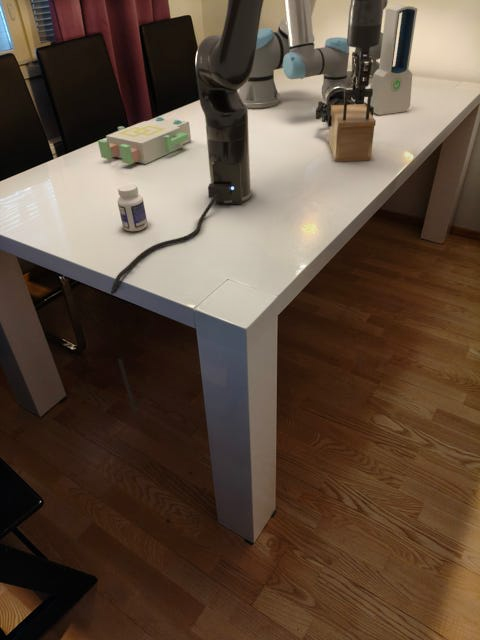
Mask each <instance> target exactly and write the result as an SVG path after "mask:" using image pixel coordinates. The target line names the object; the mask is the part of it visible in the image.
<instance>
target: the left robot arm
mask: <svg viewBox="0 0 480 640" xmlns="http://www.w3.org/2000/svg"><path fill="white" fill-rule="evenodd" d="M264 1H265V0H227V8H226V14H225V19H224V23H223V28H222V32H221V34H211V35H208V36H206V37H204V38H203V39H202V40H201V42H200V43H199V45H198V47H197V50H196V53H195V75H196V83H197V90H198V99H199V105H200V107H201V110H202V112H203V114H204V122H205V132H206V144H207V155H208V166H209V167H208V168H209V179H210V183H209V184H208V186H207V190H208V191H207V193H208V198H211V200H210V202H209V203H208V205H207V206H206V207H205V209H204V211H203V212H202V214H201V215H200V218H198V222H197V224H196V228H195V229H194V230H193V231H191V232H190V233H189V234H187V235H184V236H180V237H178V238H177V237H176V238H174V239H168V240H164V241H161V242H158V243H156V244H154V245H152V246H150V247H148V248H146V249H145V250H143V251H142V252H140V254H138V255H137V256H136V257H135V258H133V260H132V261H131V262H130V263H129V264H127V266H125V268H123V269H121V271H120V272H119V273H118V274H117V275H116V277H115V279H114V281H113V283H112V287H111V291H110V294H111V295H114V294H116V291H117V288H118V284H119V283H120V280H121V278H122V277H123V276H124V275H125V274H127V273H128V272H129V271H130V270H131V269H132V268H133V267H134V266H135V265H136V264H137V263H138V262H139V261H140V260H141V259H142V258H144V257H145V256H146V255H148V254H149V253H151V252H153V251H154V250H157V249H159V248H161V247H164V246H167V245H171V244H176V243H180V242H183V241H187V240H188V239H192V238H193V237H194V236H196V235H197V234H198V233H199V232H200V230H201V228H202V223H203V220H204V219H205V217H206V216H207V214H208V213H209V211H210V209H212V207H213V205H214V203H215V204H216V205H242V204H243V202H246V201H248V200H250V198H251V196H252V189H251V165H250V162H251V161H250V138H249V135H250V134H249V111H248V108H247V106H246V105H245V103H244V102H243V101H242V99H241V98H240V96H239V92H238V90H240V88H242V87H243V86H244V85H245V84H246V82H247V81H248V79H249V77H250V75H251V72H252V69H253V65H254V59H255V53H256V45H257V38H258V30H259V29H260V22H261V16H262V12H263V11H262V10H263V7H264ZM383 15H384V10H383V0H350V5H349V11H348V22H347V23H348V24H347V36H346V38H347V45H348V46H349V48H355V50H354V51H352V53H351V71H352V75H351V78H353V79H352V83H353V85H352V89H356V91H355V98H352V100H353V101H354V102H355V104H363V103H364V102H365V98H366V97H365V89H367V87H369V85H370V77H371V75H370V72H371V66H372V62H373V60H371V58H372V56H371V55H370V47H375V46H377V45H379V43H380V34H381V32H382V24H383ZM117 361H118V365H119V369H120V372H121V375H122V379H123V382H124V386H125V389H126V392H127V396H128V399H129V403H130V407H131V410H132V415H133V416H136V415H138V413H137V409H136V405H135V401H134V397H133V393H132V390H131V386H130V383H129V379H128V376H127V373H126V369H125V365H124V361H123V359H122V358H118V359H117Z"/></svg>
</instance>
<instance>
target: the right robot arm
mask: <svg viewBox="0 0 480 640" xmlns="http://www.w3.org/2000/svg"><path fill="white" fill-rule="evenodd" d="M283 2H284V3H283V4H284V12H285V17H284V18H282V19H281V20H280V21H279V24H278V28H277V31H274V29H273V28H271V27H263V28H259V30H258V38H257V45H256V53H255V59H254V65H253V69H252V72H251V75H250V77H249V79H248V81H247V82H246V84H245V85H244V86H243V87H242V88H240V89H238V90H239V92H238V94H239V96H240V98H241V99H242V101H243V102H244V103H245V105H246V106H247V109H250V110H251V109H252V110H253V109H254V110H255V109H259V110H260V109H266V108H271V107H274V106H277V105H279V103H280V92H278V90H277V86H276V83H275V75H274V73H275V72H274V71H275V70H280V69H281V70H282V71H283V73H284V75H285V77H286V78H287V79H289V80H299V79H300V80H303V79H305V78H310V77H315V76H321V75H323V83H322V86H321V96H322V99H323V100H324V101H322V100H318V102H317V107H316V108H315V119H316V120H320V119H321V123H326V124H327V127H328V128H330V127H331V120H332V116H331V114H330V113H331V105H344V90H348V89H347V86H346V84H347V71H348V67H349V57H350V46H348V45H347V37H341V36H338V37H335V36H334V37H329V38H327V39H325V42H324V46H323V47H317V48H315V46H316V45H315V43H314V42H315V36H314V31H313V19H312V17H313V13H314V10H315V5H316V2H317V0H283ZM353 104H355V100H353V99H352V98H348V100H347V105H353ZM363 104H365V105H366V107H367V102H366V101H364V103H363ZM370 113H371V115H372V116H373V117H374V107H372V106H370Z"/></svg>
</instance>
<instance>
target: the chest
mask: <svg viewBox="0 0 480 640" xmlns="http://www.w3.org/2000/svg"><path fill="white" fill-rule="evenodd" d="M330 114H331V116H332V120H331V127H329V128H328V129H329V130H328V131H329V132H328V145H329V147H330V151H331V154H332V156H333V160H334V162H358V161H361V162H362V161H371V159H372V158H371V157H372V151H373V142H374V135H375V133H374V132H375V126H359V127H338V126H337V123H336V121H335V119H334V116H333V114H332V111H331V113H330Z"/></svg>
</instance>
